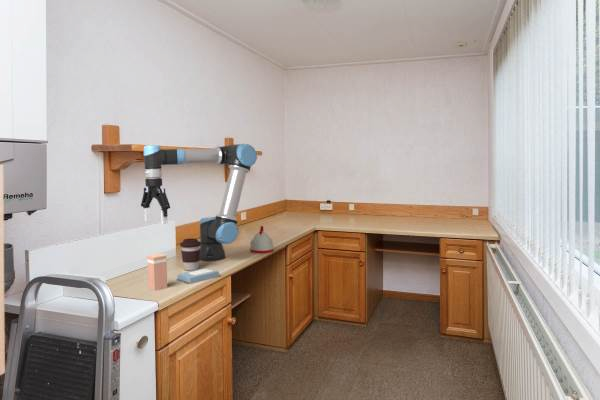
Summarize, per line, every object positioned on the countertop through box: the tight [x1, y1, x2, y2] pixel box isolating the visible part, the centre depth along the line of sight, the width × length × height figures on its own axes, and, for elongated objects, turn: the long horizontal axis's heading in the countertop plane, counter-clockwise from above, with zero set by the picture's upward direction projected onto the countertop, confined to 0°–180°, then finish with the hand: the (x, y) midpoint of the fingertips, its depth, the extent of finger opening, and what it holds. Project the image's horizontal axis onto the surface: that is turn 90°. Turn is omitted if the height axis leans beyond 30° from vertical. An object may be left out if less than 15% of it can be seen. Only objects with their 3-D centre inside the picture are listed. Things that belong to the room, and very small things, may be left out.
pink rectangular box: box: [146, 253, 168, 292], centre depth 190 cm, size 6×5×14 cm
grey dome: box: [249, 225, 274, 254], centre depth 266 cm, size 14×14×15 cm
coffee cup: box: [179, 238, 201, 272], centre depth 222 cm, size 10×10×15 cm
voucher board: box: [176, 267, 220, 285], centre depth 206 cm, size 17×10×3 cm, turn 139°
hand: (156, 222), depth 212 cm, fingers open, 13 cm apart
